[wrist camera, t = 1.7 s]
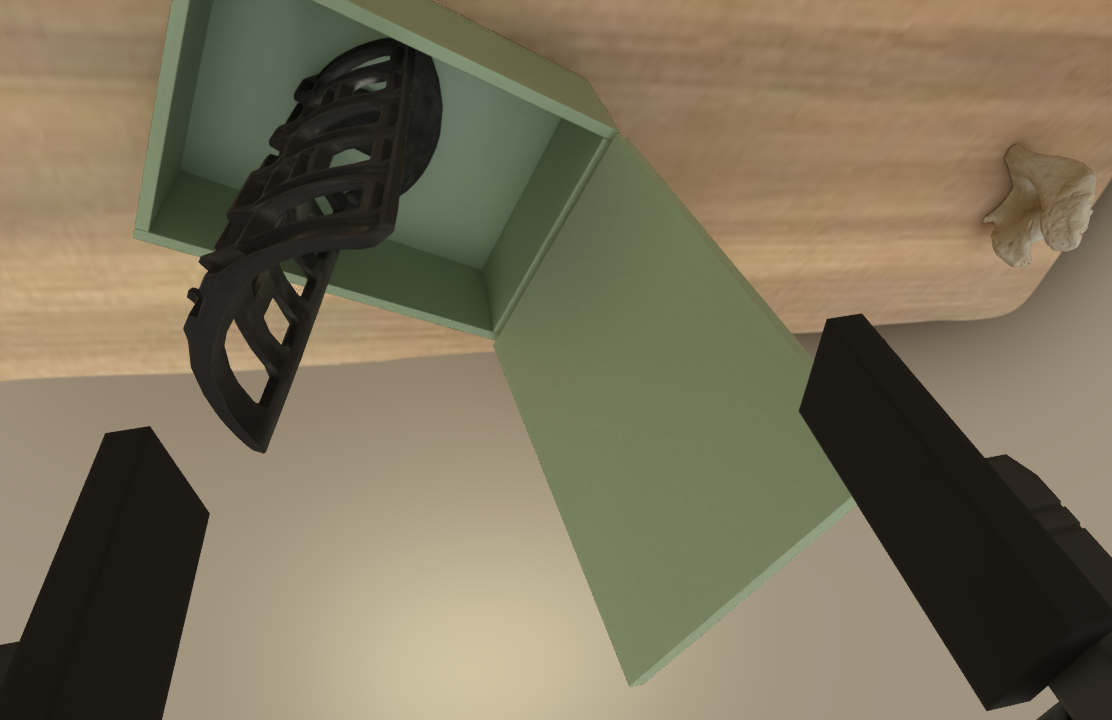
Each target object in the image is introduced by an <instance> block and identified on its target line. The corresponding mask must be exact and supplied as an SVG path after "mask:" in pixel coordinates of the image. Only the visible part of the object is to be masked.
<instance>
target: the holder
mask: <svg viewBox="0 0 1112 720" xmlns="http://www.w3.org/2000/svg"><path fill="white" fill-rule="evenodd" d="M384 56H390V60H387V61H384V62H380V63H376V64H372V65H369V66H365V67H361V68H357V69H355V70H353V69H354V68H356V67H358V66H360V65H362V64H364V63H365V62H367V61H370V60H374V59H377V58H380V57H384ZM351 70H352V71H351ZM380 82H386V87H385V88H383V89H380V90H377V91H373V92H368V91H366V90H363V89H361V88H360V87H362V86H364V85H369V84H375V83H380ZM294 100H295V101H297V102H299V103H298V104H297V105H296V106H295V108H294V109H293V111H292V113H291V114H290V116H289V117H288V119H287V121H286V122H285V123H286V124H283V125H280V126H279V127H278V128H277V129H276V130H275V131H274V133H273V134H272V136H271V137H270V139H269V146H271V147H272V148H274V149H276V150H277V151H279V155H278V156H276V155H273V154H269V155H268V156H267V157H266V158H265V160H264V161H263V163H262V164H261V166H260V167H259V169H257V170H254V171H252V172H251V173H250V174H249V176H248V178H247V179H246V181H245V183H244V185H243V186H242V188H241V190H240V191H239V193H238V195H237V196H236V198H235V200H234V201H233V203H232V205H231V207H230V208H229V210H228V212H227V213H226V214H227V219H228V220H229V222H228V224H227V226H226V227H225V229H224V231H223V233H222V234H221V236H220V238H219V239H218V241H217V243H216V245H215V246H214V247H215V249H216V251H214V252H212V253H209V254H206V255H203V256H201V257H200V260H199V263H200V264H201V265H202V266H203V267H205V268H206V269H207V270H208V272H207V273H206V274H205V276H204V278H203V281H202V283H201V285H200V288H199V289H196V288H191V289H190V290H188V295H187V298H189V299H190V300H191V301H192V302H193V303H195V305H194V307H193V308H192V310H191V312H190V313H189V315H188V318H187V320H186V323H185V325H184V328H183V330H184V332H185V334H186V337H187V339H188V345H189V354H190V363H191V369H192V371H193V373H194V375H195V377H196V379H197V381H198V384H199V386H200V388H201V390H202V392H203V394H204V396H205V397H206V399H207V400H208V402H209V403H210V405H211V406H212V408H213V409H214V411H215V412H216V413H217V415H218V416H219V418H220V419H221V420H222V421H223V422H224V424H225V425H226V426H227V427H228V428H229V429H230V430H231V431H232V432H233V433H234V434H235V435H236V436H237V437H238V438H239V439H240V440H241V441H242V442H243V443H244V444H246V445H247V446H248V447H249V448H251V449H252V450H254V451H257V452H260V453H265V452H266V450H267V448H268V445H269V442H270V439H271V437H272V434H273V432H274V429H275V426H276V424H277V421H278V419H279V416H280V414H281V411H282V408H283V406H284V403H285V400H286V398H287V395H288V393H289V390H290V387H291V385H292V382H293V379H294V377H295V374H296V371H297V369H298V366H299V363H300V361H301V358H302V355H303V352H304V349H305V347H306V344H307V341H308V338H309V336H310V333H311V330H312V327H313V324H314V322H315V319H316V316H317V314H318V311H319V308H320V305H321V302H322V299H323V296H324V294H325V291H326V289H327V286H328V283H329V281H330V278H331V275H332V272H333V269H334V266H335V263H336V260H337V258H338V255H339V252H340V250H342V249H366V248H371V247H375V246H377V245H378V244H379V243H381V242H382V241H383V240H385V239H386V238H388V237H389V236H390V235H391V234H392V233H393V232H394V230H395V224H396V219H397V214H398V207H399V198H400V196H401V195H403V194H404V193H406V192H407V191H408V190H409V189H410V188H411V187H412V186H413V185H414V184H415V183H416V182H417V181H418V180H419V178H420V177H421V176H422V175H423V173H424V172H425V170H426V168H427V167H428V165H429V163H430V161H431V159H432V157H433V155H434V153H435V150H436V148H437V144H438V141H439V137H440V132H441V122H442V112H443V103H442V96H441V89H440V81H439V77H438V74H437V71H436V69H435V66H434V63H433V60H432V57H431V56H429V55H427V54H425V53H423V52H421V51H419V50H417V49H414V48H412V47H410V46H408V45H406V44H404V43H402V42H400V41H397V40H395V39H393V38H391V37H390V38H382V39H378V40H374V41H370V42H367V43H364V44H361V45H358V46H356V47H354V48H352V49H350V50H348V51H346V52H344V53H343V54H341V55H339V56H338V57H336V58H335V59H333V60H332V61H331V62H330V63H329V64H328V65H326V66H325V67H324V68H323V69H322V71H321V72H320V73H319V74H317V75H314V76H311V77H308V78H305V79H303V80H302V81H301V83H300V84H299V86H298V87H297V89H296V91H295V93H294ZM349 149H356V150H358V151H360V152H362V153H364V154H366V155H368V156H370V160H366V161H361V162H357V163H353V164H348V165H342V166H337V167H331V168H329V167H330V164H331V162H332V160H333V156H335V155H337V154H339V153H341V152H343V151H345V150H349ZM344 191H350V192H348V193H346V194H344V193H343V192H344ZM322 196H325V198H326V199H327V201H328V202H329V204H330V206H331V208H332V210H333V213H332V214H328V215H324V214H323V212H322V211H321V209H320V207H319V206H318V204H317V202H316V201H315V198H318V197H322ZM316 252H317V255H316V254H315V253H316ZM292 258H294V260H295V261H296V262H297V264H298V265H299V266H300V268H301V269H302V271H303V273H304V275H305V277H306V279H307V282H306V285H305V287H304V290H303V293H302V295H301V296H299V295H298V294H297V293H296V291H295V290H294V288H293V287H292V286H291V284H290V283H289V281H288V280H287V278H286V276H285V274H284V272H283V270H282V268H281V267H280V265H279V263H281V262H284V261H286V260H289V259H292ZM272 298H274V300H275V301H276V303H277V304H278V306H279V308H280V309H281V311H282V312H283V314H284V316H285V317H286V319H287V320H288V322H289V327H288V329H287V332H286V334H285V337H284V339H283V342H282V344H280V343H279V342H278V341H277V340H276V339H275V337H274V336H273V335H272V334H271V333H270V331H269V329H268V327H267V324H266V322H265V320H264V315H265V313H266V311H267V309H268V306H269V304H270V302H271V300H272ZM233 319H234V320H235V323H236V325H237V326H238V328H239V330H240V331H241V333H242V335H243V336H244V338H245V340H246V342H247V343H248V345H249V347H250V348H251V350H252V351H253V352H254V353H255V355H256V356H257V357H258V358H259V360H260V361H261V362H262V363H263V365H264V366H265V368H266V371H267V373H268V375H269V380H268V382H267V385H266V387H265V389H264V392H263V394H262V397H261V399H260V402H259V403H255V402H254V401H253V400H252V399H251V397H250V396H249V395H248V394H247V393H246V391H245V390H244V389H243V388H242V387H241V385H240V384H239V383H238V382H237V380H236V378H235V376H234V374H233V372H232V370H231V368H230V365H229V361H228V357H227V354H226V350H225V346H224V345H225V339H226V334H227V331H228V329H229V327H230V325H231V323H232V321H233Z"/></svg>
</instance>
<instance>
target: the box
mask: <svg viewBox="0 0 1112 720" xmlns="http://www.w3.org/2000/svg"><path fill="white" fill-rule="evenodd" d="M390 37H391V38H393V39H395V40H397V41H400V42H402V43H404V44H406V45H408V46H410V47H412V48H414V49H417V50H419V51H421V52H423V53H425V54H427V55H429V56H431V57H432V60H433V63H434V66H435V69H436V71H437V74H438V77H439V81H440V89H441V96H442V103H443V112H442V122H441V132H440V137H439V141H438V144H437V148H436V150H435V153H434V155H433V157H432V159H431V161H430V163H429V165H428V167H427V168H426V170H425V172H424V173H423V175H422V176H421V177H420V178H419V180H418V181H417V182H416V183H415V184H414V185H413V186H412V187H411V188H410V189H409V190H408V191H407V192H406V193H404V194H403V195H401V196H400V198H399V207H398V214H397V219H396V224H395V230H394V232H393V233H392V234H391V235H390V236H389V237H388V238H386V239H385V240H383V241H382V242H381V243H379V244H378V245H377V246H375V247H371V248H366V249H342V250H340V252H339V255H338V258H337V260H336V263H335V266H334V269H333V272H332V275H331V278H330V281H329V283H328V286H327V289H326V291H325V293H329V294H332V295H336V296H340V297H343V298H347V299H350V300H354V301H357V302H361V303H364V304H368V305H371V306H375V307H378V308H382V309H386V310H389V311H393V312H396V313H400V314H403V315H407V316H410V317H414V318H417V319H421V320H424V321H428V322H432V323H435V324H439V325H442V326H446V327H449V328H453V329H456V330H460V331H463V332H467V333H470V334H474V335H478V336H481V337H485V338H488V339H492V340H495V341H496V340H497V338H498V337H499V335H500V333H501V332H502V330H503V328H504V326H505V325H506V323H507V321H508V319H509V318H510V316H511V314H512V313H513V311H514V309H515V307H516V306H517V304H518V302H519V301H520V299H521V297H522V295H523V294H524V292H525V290H526V288H527V287H528V285H529V283H530V282H531V280H532V278H533V276H534V275H535V273H536V271H537V270H538V268H539V266H540V264H541V263H542V261H543V259H544V258H545V256H546V254H547V252H548V251H549V249H550V247H551V245H552V244H553V242H554V240H555V239H556V237H557V235H558V233H559V232H560V230H561V228H562V227H563V225H564V223H565V221H566V220H567V218H568V216H569V214H570V213H571V211H572V209H573V208H574V206H575V204H576V202H577V201H578V199H579V197H580V196H581V194H582V192H583V190H584V189H585V187H586V185H587V183H588V182H589V180H590V178H591V177H592V175H593V173H594V171H595V170H596V168H597V166H598V165H599V163H600V161H601V159H602V158H603V156H604V154H605V153H606V151H607V149H608V147H609V146H610V144H611V142H612V140H613V139H614V137H615V135H616V134H619V132H620V131H619V130H618V128H617V126H616V125H615V123H614V121H613V120H612V118H611V117H610V115H609V113H608V112H607V110H606V108H605V107H604V105H603V104H602V102H601V100H600V99H599V97H598V96H597V94H596V92H595V91H594V89H593V87H592V86H591V84H590V83H589V81H588V80H587V79H585V78H583V77H581V76H579V75H577V74H575V73H573V72H571V71H569V70H567V69H565V68H563V67H561V66H559V65H557V64H555V63H553V62H551V61H549V60H547V59H545V58H543V57H541V56H540V55H538V54H536V53H534V52H532V51H530V50H528V49H526V48H524V47H522V46H520V45H518V44H516V43H514V42H512V41H510V40H508V39H506V38H504V37H502V36H500V35H498V34H496V33H494V32H492V31H490V30H488V29H486V28H484V27H483V26H481V25H479V24H477V23H475V22H473V21H471V20H469V19H467V18H465V17H463V16H461V15H459V14H457V13H455V12H453V11H451V10H449V9H447V8H445V7H443V6H441V5H439V4H437V3H435V2H433V1H431V0H172V1H171V7H170V13H169V19H168V26H167V32H166V38H165V44H164V50H163V56H162V62H161V68H160V74H159V80H158V87H157V93H156V99H155V105H154V111H153V117H152V123H151V129H150V135H149V142H148V148H147V154H146V160H145V166H144V172H143V178H142V184H141V190H140V196H139V203H138V209H137V215H136V221H135V228H134V233H133V238H134V239H138V240H141V241H145V242H149V243H152V244H156V245H159V246H163V247H166V248H170V249H173V250H177V251H180V252H184V253H187V254H191V255H195V256H198V257H201V256H203V255H206V254H209V253H212V252H214V251H216V249H215V247H214V246H215V245H216V243H217V241H218V239H219V238H220V236H221V234H222V233H223V231H224V229H225V227H226V226H227V224H228V222H229V220H228V219H227V214H226V213H227V212H228V210H229V208H230V207H231V205H232V203H233V201H234V200H235V198H236V196H237V195H238V193H239V191H240V190H241V188H242V186H243V185H244V183H245V181H246V179H247V178H248V176H249V174H250V173H251V172H252V171H254V170H257V169H259V167H260V166H261V164H262V163H263V161H264V160H265V158H266V157H267V156H268V155H269V154H273V155H276V156H278V155H279V151H277V150H276V149H274V148H272V147H271V146H269V139H270V137H271V136H272V134H273V133H274V131H275V130H276V129H277V128H278V127H279V126H280V125H283V124H286V123H285V122H286V121H287V119H288V117H289V116H290V114H291V113H292V111H293V109H294V108H295V106H296V105H297V104H298V103H299V102H297V101H295V100H294V93H295V91H296V89H297V87H298V86H299V84H300V83H301V81H302V80H303V79H305V78H308V77H311V76H314V75H317V74H319V73H320V72H321V71H322V69H323V68H324V67H325V66H326V65H328V64H329V63H330V62H331V61H332V60H333V59H335V58H336V57H338V56H339V55H341V54H343V53H344V52H346V51H348V50H350V49H352V48H354V47H356V46H358V45H361V44H364V43H367V42H370V41H374V40H378V39H382V38H390ZM387 60H390V56H384V57H380V58H377V59H374V60H370V61H367V62H365V63H364V64H362V65H360V66H358V67H356V68H354V69H353V70H355V69H357V68H361V67H365V66H369V65H372V64H376V63H380V62H384V61H387ZM351 71H352V70H351ZM385 87H386V82H380V83H375V84H369V85H364V86H362V87H360V88H361V89H363V90H366V91H368V92H373V91H377V90H380V89H383V88H385ZM366 160H370V156H368V155H366V154H364V153H362V152H360V151H358V150H356V149H349V150H345V151H343V152H341V153H339V154H337V155H335V156H333V160H332V162H331V164H330V167H329V168H331V167H337V166H342V165H348V164H353V163H357V162H361V161H366ZM348 192H350V191H344V192H343V193H344V194H346V193H348ZM315 201H316V202H317V204H318V206H319V207H320V209H321V211H322V212H323V214H324V215H328V214H332V213H333V210H332V208H331V206H330V204H329V202H328V201H327V199H326V198H325V196H322V197H318V198H315ZM315 254H316V255H317V252H316V253H315ZM279 265H280V267H281V268H282V270H283V272H284V274H285V276H286V278H287V280H288V281H289V282H290V283H294V284H297V285H301V286H304V287H305V285H306V282H307V279H306V277H305V275H304V273H303V271H302V269H301V268H300V266H299V265H298V264H297V262H296V261H295V260H294V258H292V259H289V260H286V261H284V262H281V263H279Z"/></svg>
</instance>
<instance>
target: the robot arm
mask: <svg viewBox="0 0 1112 720" xmlns="http://www.w3.org/2000/svg"><path fill="white" fill-rule="evenodd" d="M799 413H800V414H801V416H802V418H803V419H804V421H805V422H806V424H807V426H808V427H809V429H810V430H811V432H812V434H813V435H814V437H815V438H816V440H817V441H818V443H819V445H820V446H821V448H822V449H823V451H824V453H825V454H826V456H827V457H828V459H829V461H830V462H831V464H832V465H833V467H834V469H835V470H836V472H837V473H838V475H839V477H840V478H841V480H842V481H843V483H844V485H845V486H846V488H847V489H848V491H849V492H850V494H851V496H852V497H853V499H854V500H855V502H856V504H857V505H858V507H859V508H860V510H861V511H862V513H863V515H864V516H865V518H866V520H867V521H868V523H869V524H870V526H871V528H872V529H873V531H874V532H875V534H876V536H877V537H878V538H879V540H880V542H881V543H882V545H883V547H884V548H885V550H886V551H887V553H888V555H889V556H890V558H891V559H892V561H893V563H894V564H895V566H896V567H897V569H898V570H899V572H900V574H901V575H902V577H903V578H904V580H905V582H906V583H907V585H908V587H909V588H910V590H911V591H912V593H913V595H914V596H915V598H916V599H917V601H918V602H919V604H920V606H921V607H922V609H923V610H924V612H925V614H926V615H927V617H928V618H929V620H930V622H931V623H932V625H933V626H934V628H935V630H936V631H937V633H938V634H939V636H940V638H941V639H942V641H943V642H944V644H945V646H946V647H947V648H948V650H949V652H950V653H951V655H952V656H953V658H954V660H955V661H956V663H957V665H958V666H959V668H960V669H961V671H962V673H963V674H964V676H965V677H966V679H967V681H968V682H969V684H970V685H971V687H972V688H973V690H974V692H975V693H976V695H977V697H978V698H979V699H980V701H981V703H982V704H983V706H984V708H985V709H986V711H989V710H994V709H998V708H1002V707H1007V706H1011V705H1015V704H1019V703H1024V702H1028V701H1031V700H1032V699H1033V698H1034V697H1035V696H1036V695H1038V694H1039V693H1040V692H1041V691H1042V690H1044V688H1046V687H1047V686H1049V687H1050V689H1051V690H1052V691H1053V693H1054V694H1055V696H1056V697H1057V699H1058V700H1059V702H1058V703H1057V704H1055V705H1054V706H1053V707H1052V708H1050V709H1049V710H1048V711H1047V712H1045V713H1044V714H1043V715H1042V716H1041V717H1039V718H1038V719H1037V720H1112V557H1111V556H1110V555H1109V554H1108V553H1107V552H1106V551H1105V550H1104V549H1103V548H1102V546H1101V545H1100V544H1099V543H1098V542H1097V541H1096V540H1095V539H1094V538H1093V536H1092V535H1091V534H1090V533H1089V532H1088V531H1087V530H1086V529H1085V528H1081V526H1080V522H1079V521H1078V520H1077V519H1076V518H1075V516H1074V515H1073V514H1072V513H1071V512H1070V511H1069V510H1068V509H1067V508H1066V507H1063V506H1061V503H1060V502H1061V501H1060V500H1059V499H1058V498H1057V497H1056V495H1055V494H1054V493H1053V492H1052V491H1051V490H1050V489H1049V488H1048V487H1047V485H1046V484H1045V483H1044V482H1043V481H1042V480H1041V479H1040V478H1039V477H1038V475H1036V474H1035V473H1033V472H1032V471H1030V470H1029V469H1027V468H1026V467H1024V466H1023V465H1021V464H1020V463H1018V462H1017V461H1015V460H1014V459H1012V458H1011V457H1009V456H1008V455H1006V454H1005V455H1000V456H995V457H989V458H984V457H983V455H982V454H981V453H980V452H979V451H978V450H977V448H975V446H974V445H973V444H972V443H971V442H970V440H969V439H968V438H967V437H966V435H965V434H964V433H963V432H962V431H961V430H960V428H959V427H958V426H957V425H956V424H955V422H954V421H953V420H952V419H951V418H950V417H949V415H948V414H947V413H946V412H945V411H944V410H943V408H942V407H941V406H940V405H939V404H938V402H937V401H936V400H935V399H934V398H933V397H932V395H931V394H930V393H929V392H928V391H927V390H926V388H925V387H924V386H923V385H922V384H921V382H920V381H919V380H918V379H917V378H916V377H915V376H914V374H913V373H912V372H911V371H910V370H909V368H908V367H907V366H906V365H905V364H904V362H903V361H902V360H901V359H900V358H899V357H898V355H897V354H896V353H895V352H894V351H893V350H892V348H891V347H890V346H889V345H888V344H887V342H886V341H885V340H884V339H883V338H882V337H881V336H880V334H879V333H878V332H877V331H876V330H875V328H874V327H873V326H872V325H871V324H870V322H869V321H868V320H867V319H866V318H865V317H864V315H863V314H856V315H849V316H843V317H837V318H830V319H827V320H826V323H825V327H824V330H823V333H822V337H821V340H820V343H819V346H818V350H817V353H816V356H815V359H814V363H813V366H812V369H811V372H810V376H809V379H808V382H807V385H806V389H805V392H804V395H803V398H802V402H801V405H800V408H799ZM209 514H210V513H209V512H208V510H207V509H206V507H205V506H204V504H203V503H202V502H201V500H200V499H199V497H198V496H197V494H196V493H195V491H194V490H193V488H192V487H191V486H190V484H189V483H188V481H187V480H186V478H185V477H184V475H183V474H182V472H181V471H180V470H179V468H178V467H177V465H176V464H175V462H174V461H173V459H172V458H171V456H170V455H169V453H168V452H167V450H166V449H165V447H164V446H163V445H162V443H161V442H160V440H159V439H158V437H157V436H156V434H155V433H154V431H153V430H152V428H151V427H150V426H148V427H142V428H135V429H129V430H123V431H116V432H110V433H105V435H104V438H103V440H102V443H101V445H100V448H99V450H98V452H97V455H96V457H95V460H94V462H93V464H92V467H91V469H90V472H89V474H88V477H87V479H86V482H85V484H84V487H83V489H82V491H81V494H80V496H79V499H78V501H77V503H76V506H75V508H74V511H73V513H72V515H71V518H70V520H69V523H68V525H67V527H66V530H65V532H64V535H63V537H62V540H61V542H60V544H59V547H58V549H57V552H56V554H55V557H54V559H53V561H52V564H51V566H50V569H49V571H48V574H47V576H46V578H45V581H44V583H43V586H42V588H41V590H40V593H39V595H38V598H37V600H36V603H35V605H34V607H33V610H32V612H31V615H30V617H29V619H28V622H27V624H26V627H25V629H24V632H23V634H22V636H21V639H20V641H19V642H14V643H8V644H3V645H0V720H162V717H163V713H164V708H165V704H166V700H167V696H168V691H169V687H170V682H171V678H172V674H173V670H174V665H175V661H176V657H177V652H178V648H179V644H180V639H181V635H182V631H183V626H184V622H185V618H186V614H187V609H188V605H189V601H190V596H191V592H192V588H193V583H194V579H195V574H196V571H197V566H198V562H199V557H200V553H201V549H202V545H203V540H204V536H205V532H206V527H207V523H208V519H209Z"/></svg>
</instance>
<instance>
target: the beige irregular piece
mask: <svg viewBox="0 0 1112 720" xmlns="http://www.w3.org/2000/svg"><path fill="white" fill-rule="evenodd" d="M1005 161H1006V163H1007V166H1008V169H1009V171H1010V175H1011V179H1012V181H1013V188H1012V191H1011V192H1010V194H1009V196H1008V197H1007V198H1006V199H1005V201H1004V202H1003V203H1002V204H1001V205H1000V206H999V207H998V208H996V209H995V210H994V211H993V212H991V213H990V214H989V215H987V216H986V217H985V218H984V220H983V223H986V222H993V223H995V228H994V230H993V231H992V234H991V239H992V245H993V249H994V251H995V253H996V255H997V256H998V257H999V258H1001V259H1002V260H1003V261H1004V262H1006V263H1007V264H1009V265H1010V266H1011V267H1026V266H1027V265H1028V264H1031V261H1032V260H1031V255H1030V251H1029V250H1030V246H1031V245H1032V244H1033V243H1034V242H1036V241H1039V240H1044V239H1045V242H1046V244H1047V245H1048V246H1050V247H1051V249H1052V250H1053V251H1070V250H1073V249H1075V248H1076V247H1078V245H1079V244H1080V242H1081V238H1082V233H1083V232H1085V231H1086V230H1087V228H1088V223H1089V219H1090V218H1089V216H1090V215H1091V214H1092V213H1093V210H1091V206H1092V202H1093V200H1094V198H1095V196H1096V193H1095V186H1096V174H1095V172H1094V171H1093V170H1092V169H1090V168H1089V167H1087V166H1086V165H1085V164H1083V163H1081V162H1078V161H1076V160H1074V159H1070V158H1065V157H1060V156H1049V155H1043V154H1038V153H1034V152H1032V151H1029V150H1026V149H1025V148H1023V147H1022V146H1020V145H1018V144H1016V145H1014V146H1013V147H1011V148H1010V149H1009V150H1008V152H1007V154H1006V156H1005Z"/></svg>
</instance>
